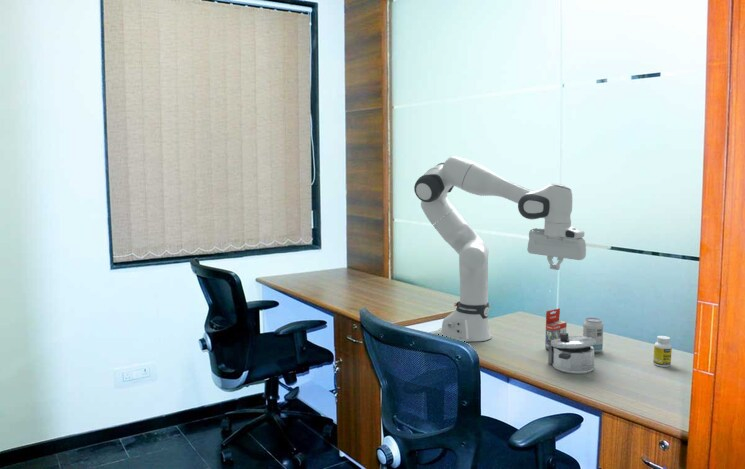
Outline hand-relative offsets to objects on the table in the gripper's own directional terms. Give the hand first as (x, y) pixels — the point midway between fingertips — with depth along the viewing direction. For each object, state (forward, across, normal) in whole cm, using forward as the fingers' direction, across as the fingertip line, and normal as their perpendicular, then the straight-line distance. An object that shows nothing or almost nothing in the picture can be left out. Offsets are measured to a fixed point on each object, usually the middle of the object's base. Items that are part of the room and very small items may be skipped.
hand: (554, 269), depth 211 cm
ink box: (+32, -2, +11) cm, 34 cm away
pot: (+32, +11, -5) cm, 34 cm away
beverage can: (+32, +10, +16) cm, 37 cm away
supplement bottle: (+31, +34, +16) cm, 49 cm away
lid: (+24, +10, -5) cm, 27 cm away
